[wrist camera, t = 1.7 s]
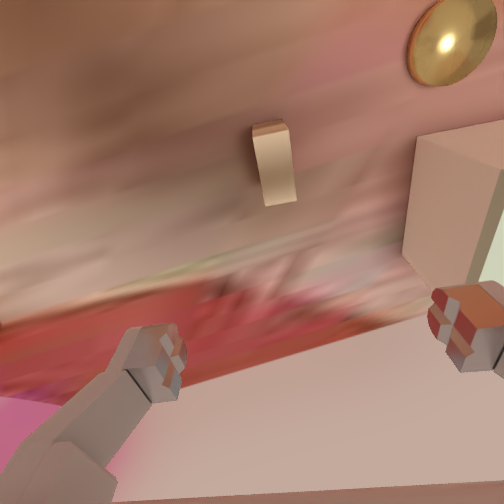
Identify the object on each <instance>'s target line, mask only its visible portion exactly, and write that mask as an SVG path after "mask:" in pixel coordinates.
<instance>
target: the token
mask: <svg viewBox="0 0 504 504" xmlns="http://www.w3.org/2000/svg"><path fill="white" fill-rule="evenodd" d="M252 138H253V143H254V149H255V154H256V159H257V165H258V170H259V176H260V181H261V186H262V192H263V197H264V202H265V207H266V206H271V205H277V204H282V203H287V202H293V201H297V198H296V189H295V180H294V171H293V162H292V154H291V145H290V136H289V129H288V128H287V126H286V125H285V123H284V121H283V120H282V119H278V120H274V121H269V122H265V123H260V124H255V125H252Z"/></svg>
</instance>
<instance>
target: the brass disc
mask: <svg viewBox="0 0 504 504" xmlns="http://www.w3.org/2000/svg"><path fill="white" fill-rule="evenodd" d="M496 28H497V12H496V8H495V5H494V3H493V2H492V0H441V1H439V2H438V3H436V4H435V5H433V6H432V7H431V8H430V9H429V10H428V11H427V12H426V13H425V14H424V15H423V16H422V17H421V19H420V20H419V21H418V23H417V25H416V26H415V28H414V30H413V32H412V34H411V37H410V40H409V43H408V47H407V56H406V59H407V66H408V70H409V72H410V74H411V76H412V77H413V78H414V79H415V80H416V81H417V82H419V83H421V84H423V85H428V86H447V85H451V84H454V83H456V82H458V81H460V80H462V79H463V78H465V77H466V76H468V75H469V74H470V73H471V72H472V71H473V70H475V69H476V68H477V66H478V65H479V64H480V63H481V62H482V60H483V59H484V57H485V56H486V54H487V53H488V51H489V49H490V47H491V45H492V42H493V40H494V37H495V33H496Z"/></svg>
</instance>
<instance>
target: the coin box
mask: <svg viewBox="0 0 504 504" xmlns="http://www.w3.org/2000/svg"><path fill="white" fill-rule="evenodd" d="M402 255H403V256H404V258H405V259H406V260H407V261H408V263H409V264H410V265H411V266H412V268H413V269H414V270H415V271H416V272H417V274H418V275H419V276H420V277H421V279H422V280H423V281H424V282H425V283H426V285H427V286H428V287H429V288H430V290H431V291H432V292H433V291H434V290H435V288H440V287H447V286H454V285H461V284H468V283H475V282H482V281H490V280H493V281H496V282H498V283H500V284H501V285H502V286H503V287H504V119H503V120H498V121H492V122H487V123H482V124H477V125H472V126H467V127H462V128H457V129H452V130H447V131H442V132H437V133H432V134H427V135H422V136H417V142H416V150H415V157H414V165H413V172H412V180H411V187H410V195H409V202H408V210H407V217H406V224H405V232H404V239H403V247H402Z"/></svg>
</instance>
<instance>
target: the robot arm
mask: <svg viewBox="0 0 504 504" xmlns="http://www.w3.org/2000/svg"><path fill="white" fill-rule="evenodd" d="M431 298H432V300H433V301H434V302H435V303H434V304H433V305H432V306H431V307H430V308H429V310H428V315H427V317H428V323H429V326H430V329H431V330H432V333H433V334H434V336H435V337H436V339H437V340H439V341H441V342H443V343H444V344H446V345H447V347H446V353H447V355H448V356H449V357H450V359H451V360H452V361H453V363H454V365H455V366H456V367H457V369H458V370H459V372H461V373H462V372H476V371H490V370H494V372H495V373H496V374H497V375H499V376H501V377H502V378H503V379H504V287H503V286H502V285H501V284H500V283H498V282H496V281H493V280H490V281H482V282H475V283H468V284H461V285H454V286H447V287H440V288H435V290H434V291H433V293H432V297H431ZM178 331H179V330H178V328H177V326H176V324H175V323H166V324H157V325H147V326H141V327H131V328H129V329H128V330H126V332H125V333H124V335H123V337H122V339H121V341H120V343H119V345H118V347H117V349H116V351H115V353H114V355H113V357H112V359H111V361H110V363H109V365H108V367H107V369H106V371H105V372H103V373H100V374H98V375H97V376H96V377H95V378H94V379H93V380H92V381H90V382H89V383H88V384H87V385H86V386H85V387H84V388H83V389H81V390H80V391H79V392H78V393H77V394H76V395H75V396H73V397H72V398H71V399H70V400H69V401H68V402H67V403H66V404H64V405H63V406H62V407H61V408H60V409H59V410H58V411H57V412H55V413H54V414H53V415H52V416H51V417H50V418H49V419H47V420H46V421H45V422H44V423H43V424H42V425H41V426H39V428H37V429H36V430H35V431H34V432H33V433H32V434H30V435H29V436H28V437H27V438H26V439H25V440H24V441H23V442H21V443H20V445H19V446H18V448H17V449H16V451H15V452H14V454H13V456H12V457H11V459H10V460H9V462H8V463H7V465H6V467H5V468H4V470H3V471H2V473H1V474H0V504H504V480H502V481H484V482H466V483H448V484H431V485H414V486H395V487H379V488H378V487H377V488H360V489H342V490H325V491H307V492H288V493H271V494H252V495H235V496H218V497H199V498H181V499H164V500H146V501H128V502H111V501H112V498H113V496H114V492H115V489H116V486H117V483H118V482H117V479H116V477H115V476H114V475H112V474H111V473H110V472H109V471H107V470H106V469H105V467H106V466H107V464H108V463H109V462H110V461H111V459H112V458H113V457H114V455H115V454H116V452H117V451H118V450H119V449H120V447H121V446H122V445H123V443H124V442H125V441H126V439H127V438H128V437H129V435H130V434H131V432H132V431H133V430H134V428H135V427H136V426H137V424H138V423H139V422H140V420H141V419H142V418H143V416H144V415H145V414H146V412H147V411H148V410H149V408H150V407H151V406H152V405H151V404H152V403H160V402H168V401H176V400H177V399H178V395H179V391H180V386H181V382H182V379H181V377H180V375H179V374H180V372H181V371H182V370H183V369H184V368H185V365H186V361H187V348H186V344H185V342H184V340H183V339H182V338H181V337H179V336H177V334H178Z"/></svg>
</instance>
